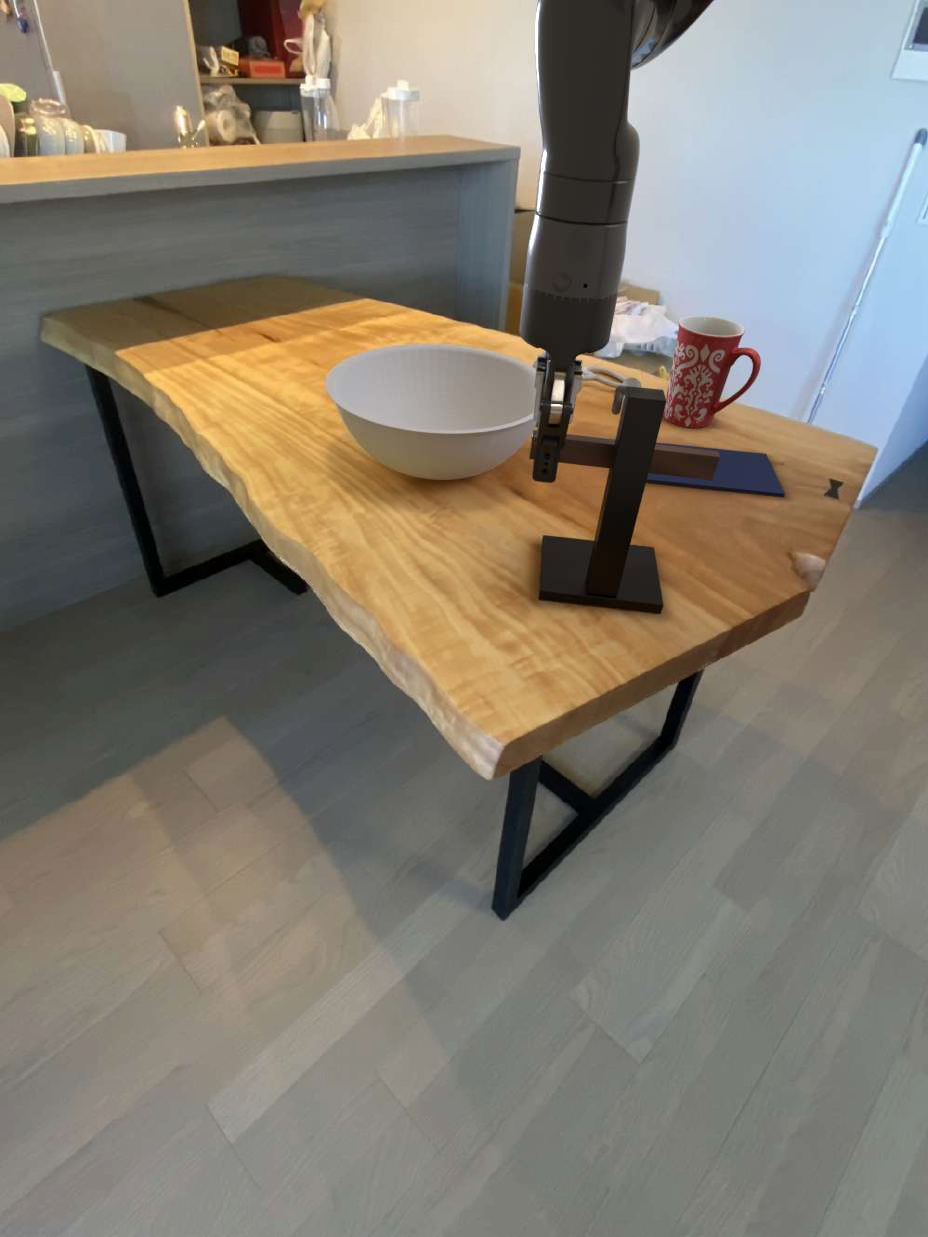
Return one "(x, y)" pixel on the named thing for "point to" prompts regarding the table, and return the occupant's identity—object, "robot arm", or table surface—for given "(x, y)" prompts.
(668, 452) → the hanger
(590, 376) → the hook
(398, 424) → the bowl
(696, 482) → the mat
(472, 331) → the table surface
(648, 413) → the coat stand
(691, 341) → the mug
